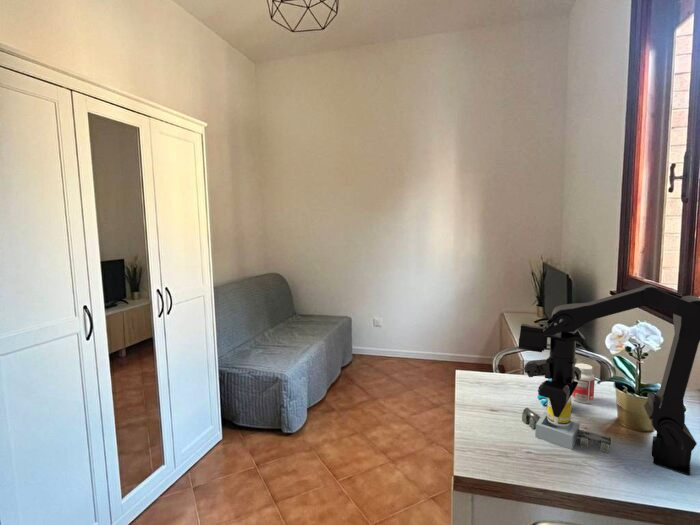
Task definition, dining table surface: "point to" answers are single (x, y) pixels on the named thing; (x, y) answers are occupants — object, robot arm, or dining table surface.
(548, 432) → the housing
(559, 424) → the supplement bottle
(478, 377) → the dining table surface
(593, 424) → the dining table surface
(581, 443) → the shaft
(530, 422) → the shaft
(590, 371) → the pill bottle
